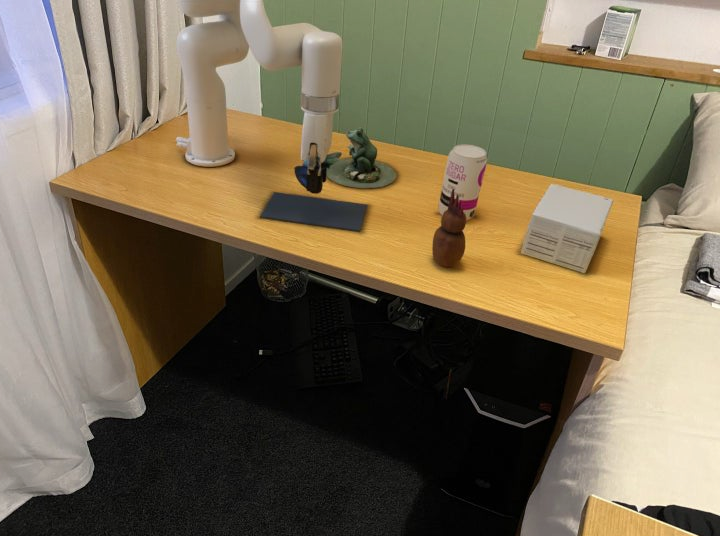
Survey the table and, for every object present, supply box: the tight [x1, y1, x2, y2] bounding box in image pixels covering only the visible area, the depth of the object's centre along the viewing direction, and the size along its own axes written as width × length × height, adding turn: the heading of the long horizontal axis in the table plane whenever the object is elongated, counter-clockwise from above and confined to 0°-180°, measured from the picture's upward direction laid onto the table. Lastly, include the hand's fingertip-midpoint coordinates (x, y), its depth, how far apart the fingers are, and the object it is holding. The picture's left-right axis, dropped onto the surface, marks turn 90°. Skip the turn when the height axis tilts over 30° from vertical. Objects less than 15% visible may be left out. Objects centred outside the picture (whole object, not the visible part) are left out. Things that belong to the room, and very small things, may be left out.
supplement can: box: [437, 143, 488, 221], centre depth 125 cm, size 8×8×15 cm
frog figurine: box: [326, 127, 397, 189], centre depth 141 cm, size 18×18×12 cm
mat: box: [259, 191, 368, 233], centre depth 127 cm, size 22×12×1 cm, turn 79°
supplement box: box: [520, 183, 615, 274], centre depth 117 cm, size 17×13×9 cm
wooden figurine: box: [431, 189, 467, 268], centre depth 109 cm, size 7×6×15 cm
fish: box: [293, 151, 343, 195], centre depth 121 cm, size 4×10×10 cm, turn 78°
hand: (316, 185), depth 123 cm, fingers closed on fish, 4 cm apart
